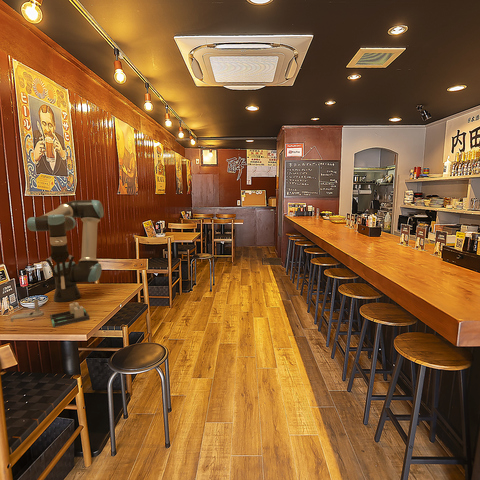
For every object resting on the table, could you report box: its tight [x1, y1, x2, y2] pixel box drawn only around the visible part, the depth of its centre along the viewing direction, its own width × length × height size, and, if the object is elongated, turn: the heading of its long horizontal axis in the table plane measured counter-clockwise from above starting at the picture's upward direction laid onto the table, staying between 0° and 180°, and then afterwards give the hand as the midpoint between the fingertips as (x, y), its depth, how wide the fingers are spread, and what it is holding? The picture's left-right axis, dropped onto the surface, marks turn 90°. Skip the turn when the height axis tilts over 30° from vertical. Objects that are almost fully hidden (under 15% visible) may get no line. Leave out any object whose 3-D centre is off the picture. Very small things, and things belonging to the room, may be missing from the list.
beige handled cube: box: [74, 304, 85, 318], centre depth 160 cm, size 4×4×7 cm
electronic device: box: [10, 299, 45, 323], centre depth 163 cm, size 5×10×15 cm
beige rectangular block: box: [68, 301, 80, 314], centre depth 166 cm, size 4×4×7 cm
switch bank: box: [49, 307, 90, 328], centre depth 161 cm, size 17×16×3 cm
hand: (63, 288), depth 161 cm, fingers closed
